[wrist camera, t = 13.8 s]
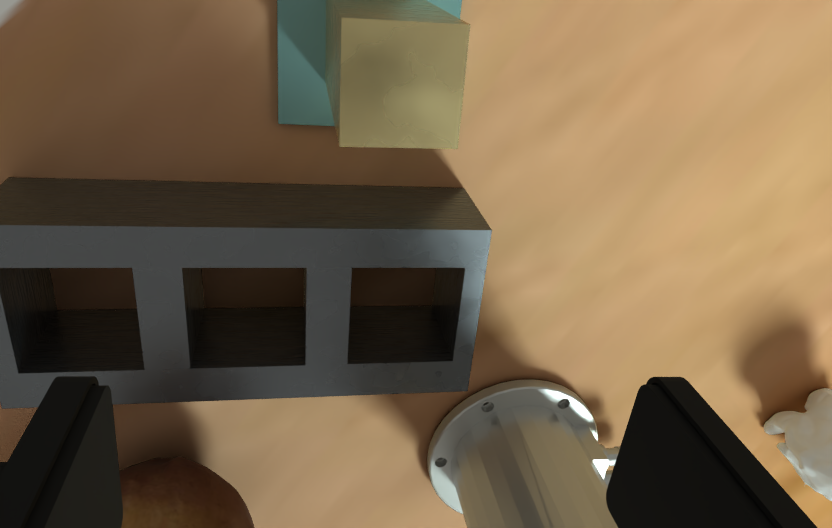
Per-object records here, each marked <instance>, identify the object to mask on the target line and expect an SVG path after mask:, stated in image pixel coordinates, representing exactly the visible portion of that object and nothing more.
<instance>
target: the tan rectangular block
mask: <svg viewBox="0 0 832 528" xmlns="http://www.w3.org/2000/svg"><path fill="white" fill-rule="evenodd" d="M469 32H470V24H468V23H466V22H465V21H463V20H461V19H459V18H457V17H455V16H454V15H452V14H450V13H448V12H446V11H445V10H443V9H441V8H439V7H437V6H435V5H434V4H432V3H430V2H428V1H426V0H326V65H325V83H326V88H327V92H328V97H329V102H330V106H331V111H332V115H333V120H334V124H335V129H336V134H337V138H338V143H339V147H379V148H435V149H458V141H459V131H460V121H461V111H462V101H463V91H464V81H465V72H466V62H467V52H468V42H469Z"/></svg>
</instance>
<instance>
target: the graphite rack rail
mask: <svg viewBox="0 0 832 528" xmlns="http://www.w3.org/2000/svg"><path fill="white" fill-rule="evenodd" d="M491 232H492V230H491V228H490V227H489V225H488V224H487V222H486V221H485V219H484V218H483V216H482V215H481V213H480V212H479V210H478V209H477V207H476V206H475V204H474V203H473V201H472V200H471V198H470V196H469V195H468V193H467V192H466V190H465V189H464V188H441V187H399V186H356V185H313V184H270V183H227V182H184V181H141V180H98V179H55V178H13V177H9V178H8V179H7V180H6V181H4V182H3V183H2V184H1V185H0V402H1V406H2V409H5V408H32V407H39V405H40V403H41V401H42V400H43V398H44V396H45V394H46V392H47V391H48V389H49V387H50V385H51V383H52V382H53V380H54V379H55V378H56V377H58V376H95V377H96V378H97V380H98V382H99V385H108V386H109V387H110V389H111V396H112V404H138V403H165V402H191V401H218V400H244V399H271V398H298V397H324V396H351V395H377V394H404V393H430V392H457V391H468V384H469V378H470V371H471V365H472V358H473V351H474V345H475V338H476V332H477V325H478V318H479V312H480V305H481V298H482V292H483V285H484V279H485V272H486V265H487V259H488V252H489V246H490V239H491ZM49 268H132V271H133V279H134V287H135V295H136V303H137V309H102V310H57V307H56V301H55V296H54V290H53V285H52V280H51V274H50V269H49ZM201 268H304V307H271V308H204V300H203V285H202V271H201ZM352 268H436V276H435V285H434V294H433V302H432V306H355V307H350V297H351V276H352Z"/></svg>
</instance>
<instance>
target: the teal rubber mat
mask: <svg viewBox="0 0 832 528" xmlns="http://www.w3.org/2000/svg"><path fill="white" fill-rule="evenodd" d="M426 1H428V2H430V3H432V4H434V5H435V6H437V7H439V8H441V9H443V10H445V11H446V12H448V13H450V14H452V15H454V16H455V17H457V18H459V19H460V12H461V3H462V0H426ZM277 18H278V124H296V125H320V126H335V124H334V120H333V115H332V111H331V106H330V102H329V97H328V92H327V88H326V83H325V65H326V0H277Z"/></svg>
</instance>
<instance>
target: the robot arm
mask: <svg viewBox="0 0 832 528" xmlns="http://www.w3.org/2000/svg"><path fill="white" fill-rule="evenodd" d="M427 464H428V472H429V475H430V479H431V484H432V486H433V488H434V490H435V492H436V494H437V495H438V496H439V497H440V499H441V500H442V501H443V502H444V503H445V504H446V505H448V506H449V507H451V508H452V509H453V510H455V511H457V512H459V513H461V514H463V515H464V518H465V522H466V525H467V528H817V527H816V525H815V524H814V523H813V522H812V521H811V520H810V519H809V518H808V516H807V515H806V514H805V513H804V512H803V511H802V510H801V509H800V507H799V506H798V505H797V504H796V503H795V502H794V501H793V500H792V498H791V497H790V496H789V495H788V494H787V493H786V492H785V490H784V489H783V488H782V487H781V486H780V485H779V484H778V483H777V481H776V480H775V479H774V478H773V477H772V476H771V475H770V474H769V472H768V471H767V470H766V469H765V468H764V467H763V466H762V464H761V463H760V462H759V461H758V460H757V459H756V458H755V457H754V455H753V454H752V453H751V452H750V451H749V450H748V449H747V448H746V446H745V445H744V444H743V443H742V442H741V441H740V440H739V439H738V437H737V436H736V435H735V434H734V433H733V432H732V431H731V429H730V428H729V427H728V426H727V425H726V424H725V423H724V422H723V420H722V419H721V418H720V417H719V416H718V415H717V414H716V413H715V411H714V410H713V409H712V408H711V407H710V406H709V405H708V403H707V402H706V401H705V400H704V399H703V398H702V397H701V396H700V394H699V393H698V392H697V391H696V390H695V389H694V388H693V387H692V385H691V384H690V383H689V382H688V381H687V380H686V379H684V378H682V377H653V378H650V379H649V380H648V381H647V384H646V385H642V386H641V387H640V388H639V391H638V393H637V397H636V400H635V403H634V406H633V409H632V412H631V415H630V418H629V422H628V425H627V428H626V431H625V434H624V437H623V440H622V443H621V446H620V447H614V448H605V447H604V446H603V445H602V444H599V443H598V431H597V425H596V423H595V420H594V418H593V416H592V414H591V412H590V410H589V409H588V407H587V406H586V404H585V403H584V401H583V400H582V399H581V398H579V397H578V396H577V395H576V394H575V393H574V392H572V391H571V390H569V389H567V388H566V387H564V386H561V385H558V384H555V383H552V382H549V381H542V380H535V379H530V380H514V381H509V382H504V383H500V384H497V385H494V386H491V387H488V388H485V389H483V390H481V391H479V392H477V393H475V394H474V395H472V396H470V397H468V398H467V399H465V400H464V401H463V402H461V403H460V404H459V405H457V406H456V407H455V408H454V409H453V410H452V411H451V412H450V413H449V414H448V415H447V416H446V417H445V418H444V419H443V420H442V422H441V423H440V425H439V426H438V428H437V429H436V431H435V432H434V435H433V437H432V440H431V442H430V444H429V450H428V455H427ZM608 466H614V468H613V470H610V471H606V469H607V468H608ZM122 519H123V503H122V493H121V483H120V474H119V464H118V454H117V444H116V435H115V425H114V415H113V405H112V396H111V389H110V387H109V386H108V385H99V382H98V380H97V378H96V377H95V376H58V377H56V378H55V379H54V380H53V382H52V383H51V385H50V387H49V389H48V391H47V392H46V394H45V396H44V398H43V400H42V401H41V403H40V405H39V407H38V409H37V410H36V412H35V414H34V416H33V417H32V419H31V421H30V423H29V425H28V426H27V428H26V430H25V432H24V434H23V435H22V437H21V439H20V441H19V442H18V444H17V446H16V448H15V450H14V451H13V453H12V455H11V457H10V459H9V460H8V462H0V528H121V526H122Z"/></svg>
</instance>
